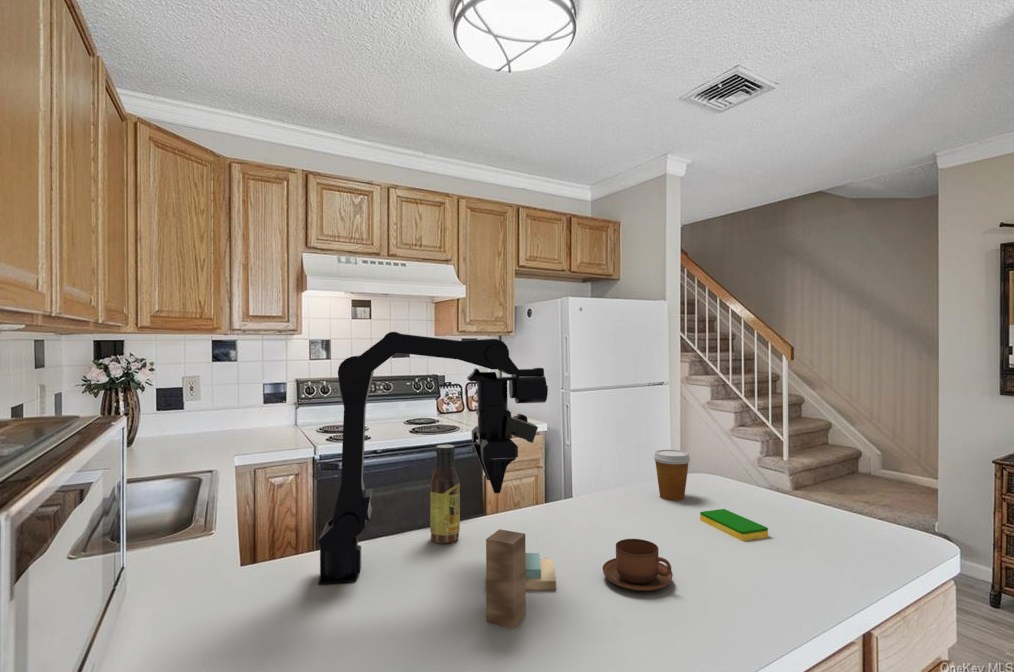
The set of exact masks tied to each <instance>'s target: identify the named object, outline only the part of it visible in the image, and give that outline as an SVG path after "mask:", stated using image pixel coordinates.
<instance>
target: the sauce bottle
mask: <svg viewBox="0 0 1014 672" xmlns="http://www.w3.org/2000/svg"><path fill="white" fill-rule="evenodd" d="M455 447H456V446H455V445H453V444H439V445H438V444H437V445H436V446H435V454H436V464H435V465H436V468H435V470H434V471H433V473H432V476H431V479H430V488H431V489H430V507H429V508H430V519H429V520H430V521H429V522H430V524H429V525H430V526H429V527H430V539H431V540H432V542H433V543H435V544H436V543H437V544H449V543H453V542H456V541H458V539H459V536H460V529H461V528H460V525H461V522H460V519H461V516H460V515H461V514H460V513H461V509H460V508H461V507H460V505H461V502H460V501H461V498H460V497H461V496H460V495H461V493H460V491H461V490H460V489H461V486H460V485H461V483H460V479H459V477H458V476H459V475H458V474H457V471H456V468H455V452H456V449H455Z"/></svg>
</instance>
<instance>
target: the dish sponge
mask: <svg viewBox="0 0 1014 672" xmlns="http://www.w3.org/2000/svg"><path fill="white" fill-rule="evenodd" d="M699 514H700V515H699V520H700V522H703V523H704V524H706V525H709V526H711V527H713V528H714V529H717V530H719V531H721V532H723V533H724V534H727V535H729V536H731V537H733V538H735V539H737V540H739V541H741V542H747V541H752V540H753V541H754V540H759V539H765V538H766V539H767V538H769V528H768V527H767V526H764V525H762V524H760V523H757V522H755V521H754V520H751V519H748V518H747V517H744V516H742V515H739V514H737V513H735V512H732V511H731V510H728V509H726V508H722V509H721V508H719V509H714V510H713V509H711V510H704V511H700V512H699Z"/></svg>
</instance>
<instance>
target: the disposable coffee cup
mask: <svg viewBox="0 0 1014 672" xmlns="http://www.w3.org/2000/svg"><path fill="white" fill-rule="evenodd" d="M653 459H654V462H655V467H656V468H655V469H656V476H657V485H658V492H659V497H660V498H661V499H663V500H667V501H678V502H679V501H683V500H685V497H686V496H685V495H686V487H687V479H688V471H689V463H690V461H691V457H690V455H689V452H686V451H685V450H679V449H670V448H669V449H668V448H667V449H657V450H655V452H654V455H653Z"/></svg>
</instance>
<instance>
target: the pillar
mask: <svg viewBox="0 0 1014 672" xmlns="http://www.w3.org/2000/svg"><path fill="white" fill-rule="evenodd" d="M485 551H486V552H485V562H486V563H485V565H486V566H485V567H486V568H485V570H486V571H485V574H486V576H485V580H486V589H485V590H486V599H485V600H486V604H485V605H486V606H485V608H486V611H485V612H486V613H485V614H486V616H485V617H486V621H485V622H486V623H488V624H493V625H497V626H502V627H504V628H509V629H512V630H514V629H515V628H516V627H517V626H518V624H519V623H520V622H521V621H522V620H523V618H524V617H526V614H527V612H526V611H527V610H526V609H527V602H526V600H527V599H526V598H527V596H526V595H527V594H526V593H527V592H526V591H527V590H526V556H525V553H526V533H522V532H519V531H518V532H517V531H511V530H507V529H500V528H499V529H498V530H496V531H495V532H494V533H493V534H491V535H489V536H488V537H487V538H485Z"/></svg>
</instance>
